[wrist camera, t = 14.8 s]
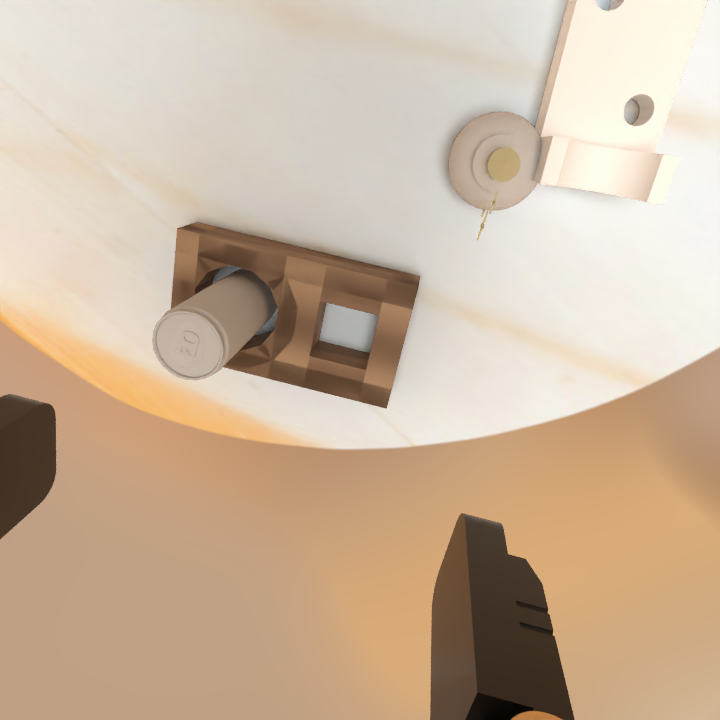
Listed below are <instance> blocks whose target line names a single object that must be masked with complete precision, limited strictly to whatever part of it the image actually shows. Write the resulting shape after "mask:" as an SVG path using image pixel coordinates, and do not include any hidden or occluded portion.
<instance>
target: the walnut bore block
mask: <svg viewBox="0 0 720 720" xmlns="http://www.w3.org/2000/svg"><path fill="white" fill-rule="evenodd" d="M228 265H231V266H235V267H239V268H243V269H247V270H251V271H253V272H254V273H255V274H256V275H257V276H258V277H259V278H260V279H262V280H263V281H264V282H265V283H266V284H267V285H268V286H269V287H270V289H271V292H272V294H273V297H274V299H275V302H276V305H277V307H278V312H277V318H276V324H275V330H274V331H272V332H268V333H265V334H261V335H258V336H253V337H252V338H251V339H250V340H249V341H248V342H247V343H246V344H245V345H244V346H243V347H242V348H241V349H240V350H239V351H238V352H237V353H236V354H235V355H234V356H233V357H232V358H231V359H230V360H229V361H228V362H227V363H226V364H225V365H224V366H223V367H225V368H229V369H233V370H237V371H241V372H245V373H249V374H253V375H257V376H261V377H265V378H269V379H272V380H276V381H280V382H284V383H288V384H292V385H296V386H300V387H304V388H308V389H312V390H316V391H320V392H324V393H328V394H331V395H335V396H339V397H343V398H347V399H351V400H355V401H359V402H363V403H367V404H371V405H375V406H379V407H383V408H387V405H388V401H389V397H390V393H391V389H392V386H393V382H394V378H395V374H396V370H397V367H398V363H399V359H400V355H401V351H402V347H403V344H404V340H405V336H406V332H407V328H408V325H409V321H410V317H411V313H412V309H413V306H414V302H415V298H416V294H417V290H418V286H419V279H420V276H417V275H413V274H408V273H404V272H400V271H396V270H392V269H388V268H384V267H380V266H375V265H371V264H367V263H363V262H359V261H355V260H351V259H347V258H342V257H338V256H334V255H330V254H326V253H322V252H318V251H314V250H309V249H305V248H301V247H297V246H293V245H289V244H285V243H281V242H276V241H272V240H268V239H264V238H260V237H256V236H252V235H248V234H243V233H239V232H235V231H231V230H227V229H223V228H219V227H215V226H210V225H206V224H202V223H198V222H196V223H193V224H190V225H187V226H184V227H180V228H177V239H176V251H175V264H174V277H173V290H172V302H171V309H172V308H174V307H176V306H177V305H179V304H181V303H182V302H184V301H186V300H187V299H189V298H191V297H192V296H194V295H196V294H197V293H199V292H200V291H202V290H204V289H206V288H207V287H209V286H211V285H212V282H213V277H214V276H215V275H216V273H217V272H218V271H219V270H220V268H221V267H224V266H228ZM326 303H330V304H335V305H339V306H343V307H347V308H351V309H355V310H359V311H363V312H367V313H371V314H375V315H379V318H378V322H377V327H376V331H375V335H374V339H373V343H372V348H371V352H370V354H369V353H365V352H361V351H357V350H353V349H349V348H345V347H341V346H337V345H333V344H329V343H325V342H321V341H319V337H320V332H321V327H322V321H323V316H324V311H325V306H326Z"/></svg>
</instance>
